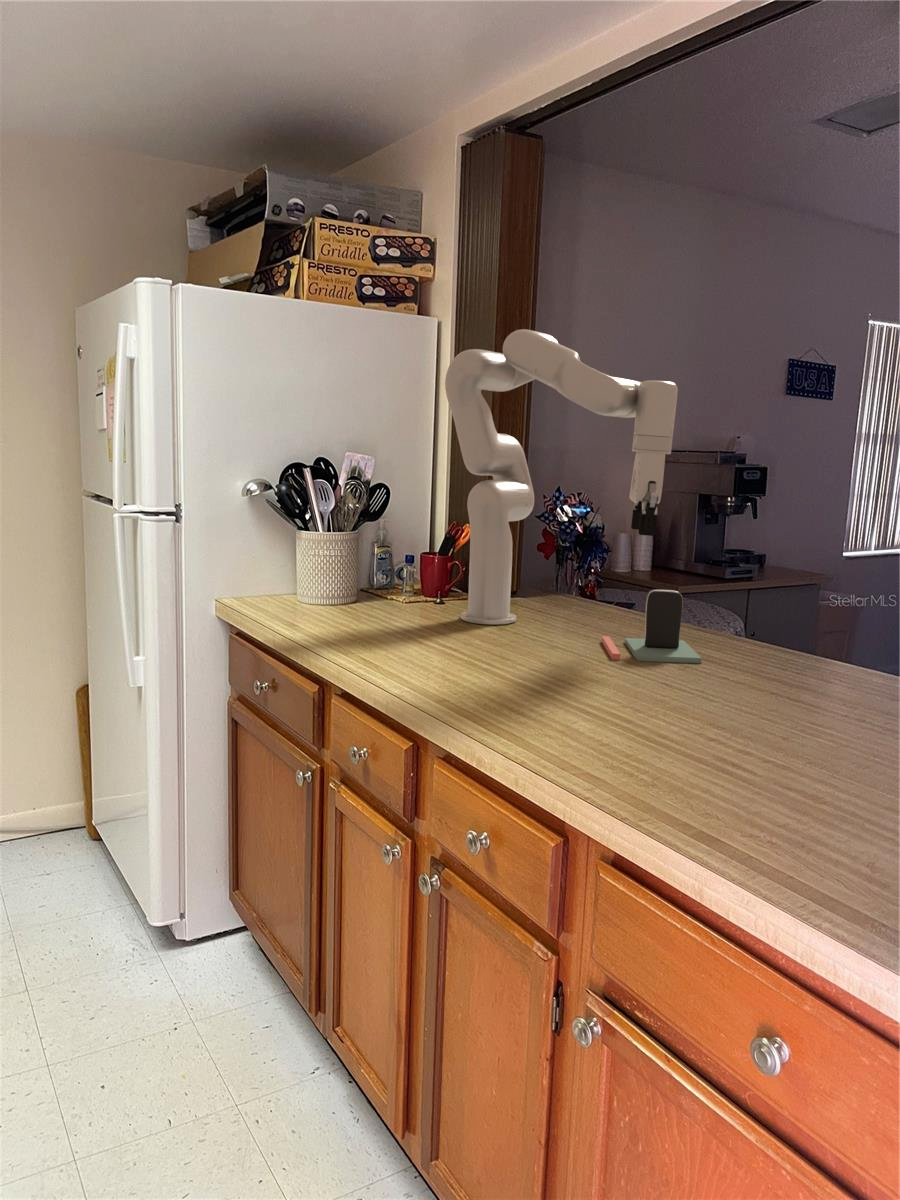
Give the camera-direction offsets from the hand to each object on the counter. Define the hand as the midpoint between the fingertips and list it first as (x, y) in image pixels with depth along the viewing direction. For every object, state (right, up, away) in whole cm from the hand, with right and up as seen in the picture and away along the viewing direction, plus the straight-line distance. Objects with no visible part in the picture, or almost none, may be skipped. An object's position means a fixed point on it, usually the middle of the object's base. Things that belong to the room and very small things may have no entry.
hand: (642, 532), depth 183 cm
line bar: (-7, -24, -2) cm, 24 cm away
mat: (+3, -24, -2) cm, 24 cm away
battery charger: (+3, -23, -1) cm, 23 cm away
